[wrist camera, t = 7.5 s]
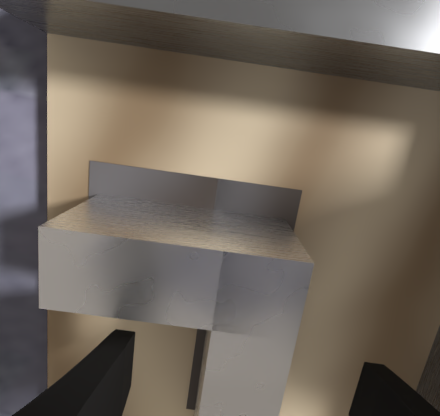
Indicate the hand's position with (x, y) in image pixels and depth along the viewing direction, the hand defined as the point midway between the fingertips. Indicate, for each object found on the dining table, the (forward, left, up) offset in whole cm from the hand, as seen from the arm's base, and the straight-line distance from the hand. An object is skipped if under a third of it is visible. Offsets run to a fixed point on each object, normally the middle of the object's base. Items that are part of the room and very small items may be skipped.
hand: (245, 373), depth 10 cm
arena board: (-1, -2, -5) cm, 5 cm away
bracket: (+3, +1, -3) cm, 4 cm away
